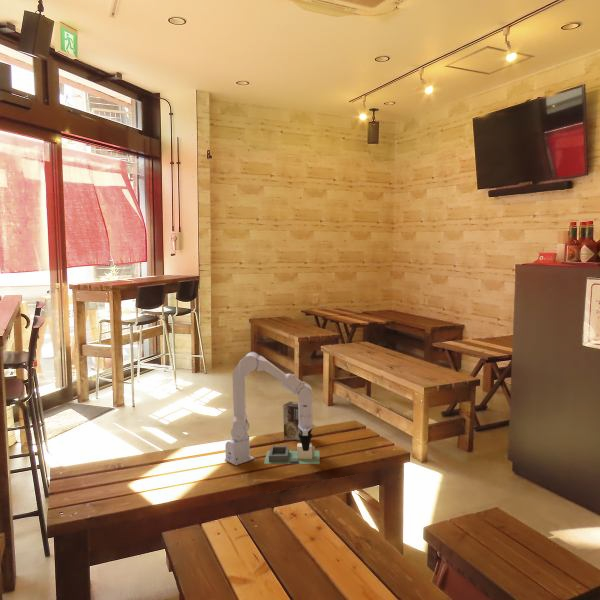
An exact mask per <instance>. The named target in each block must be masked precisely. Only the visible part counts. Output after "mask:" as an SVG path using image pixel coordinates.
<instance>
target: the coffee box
mask: <svg viewBox="0 0 600 600" xmlns="http://www.w3.org/2000/svg"><path fill="white" fill-rule="evenodd" d="M298 403H299V402H297V401H289V402H286V403H285V404H283V405H282V412H283V413H282V414H283V415H282V416H283V439H284V440H286V439H287V441H288V440H290V441H294V440H295V441H301V440H300V438H299V436H298V433H301V430H300V429H299V427H298V425H299V416H298Z"/></svg>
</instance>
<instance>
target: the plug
mask: <svg viewBox="0 0 600 600" xmlns="http://www.w3.org/2000/svg"><path fill="white" fill-rule="evenodd" d="M296 445H297V446H296V450H297V458H298V459H312V458H315V450H316V449H315V446H314V445H313V443H312V442H310V445H309V450H308V451H303V448H302V443H301V442H298V443H297V444H296Z"/></svg>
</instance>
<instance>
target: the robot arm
mask: <svg viewBox="0 0 600 600" xmlns="http://www.w3.org/2000/svg"><path fill="white" fill-rule="evenodd" d="M255 370H256V371H258V372H261V371H262V372H263V371H265V372H266V373H269V375H271V376H272V377H274V378H276V379H278V380H279V381H280V382H281V385H282V386H283V387H285V388H286V389H287V390H289V391H290V392H291V393H292V394H294V395H296V396H297V398H298V402H297V403H298V416H299V425H298V427H299V429H300V430H301V433H298V436H299V438H300V440H299V441H300V443H302V448H303V451H308V450H309V445H310V443H311V439H312V438H313V433H312V431H313V429H314V428H316V426H317V425H316V423H315V424H314V423H313V419H314V418H313V398H312V397H313V388H312V386H311V385H310V384H309V383H307V382H306V381H302V380H300V379H299V378H297V377H296V374H294V373H285V372H284V371H283V370H282V369H280V368H279V367H277V366H276V365H275V364H273V363H272V362H270V361H269V360H267V359H266V358H265V357H264V356H262V355H260V354H258V353H257V352H255V351H250V352H248V353H246V354H245V355H244V356H243V357H242V358H241V359H240V360H239V362H238V364H237V365H236V366H235V367H234V370H233V371H232V374H231V375H232V399H233V418H232V428H231V430H230V436H231V439H230V440H228V441H227V442H226V443H225V458H224V460H225V461H226V462H227V463H230V464H232V465H235V466H238V465H241V464H243V463H246V462H249V461H252V460H255V457H253V456H251V454H250V453H251V451H250V450H251V449H250V435H249V434H248V431H250V423H249V420H248V415H247V411H246V410H247V406H246V385H245V384H246V382H245V381H246V380H245V377H246V376H247V374H249V373H252V372H253V371H255Z"/></svg>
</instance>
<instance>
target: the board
mask: <svg viewBox="0 0 600 600" xmlns="http://www.w3.org/2000/svg"><path fill="white" fill-rule="evenodd" d="M269 449H270V450H269ZM269 449H268V450H267V451H266V455H265V458H264V461H263V462H264V463H263V464H264V465H320V450H316V449H315V458H312V459H298V458H297V449H296V450H290V446H289V445H287V446H286V445H282V446H281V445H280V446H279V445H278V446H276V445H273V446H270V448H269Z"/></svg>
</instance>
